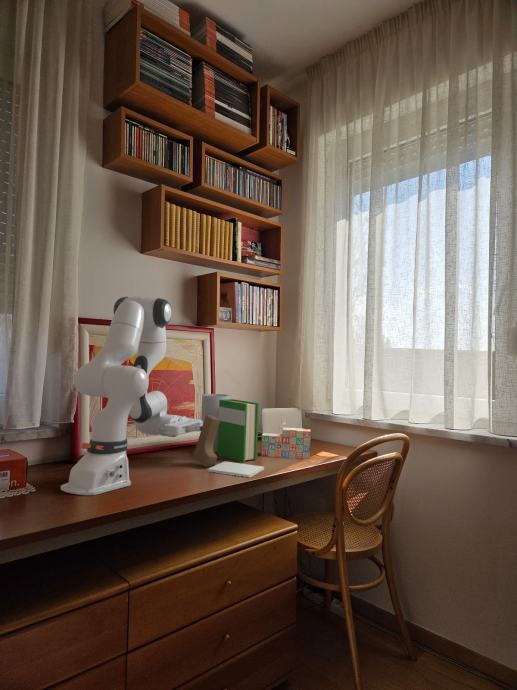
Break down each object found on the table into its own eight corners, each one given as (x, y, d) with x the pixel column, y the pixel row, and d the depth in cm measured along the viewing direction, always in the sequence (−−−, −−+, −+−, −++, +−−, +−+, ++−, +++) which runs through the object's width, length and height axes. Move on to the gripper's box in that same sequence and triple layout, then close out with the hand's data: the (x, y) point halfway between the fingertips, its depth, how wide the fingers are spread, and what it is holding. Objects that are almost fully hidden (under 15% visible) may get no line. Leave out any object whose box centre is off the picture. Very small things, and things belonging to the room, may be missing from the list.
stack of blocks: (260, 456, 201) (261, 428, 201) (262, 453, 207) (263, 426, 207) (309, 459, 198) (310, 430, 198) (309, 456, 204) (310, 428, 205)
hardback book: (256, 460, 192) (258, 403, 193) (243, 462, 187) (245, 403, 188) (230, 452, 206) (232, 399, 206) (217, 454, 201) (219, 399, 201)
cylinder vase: (226, 452, 205) (228, 396, 205) (198, 451, 205) (200, 395, 205) (228, 447, 217) (230, 394, 218) (201, 446, 217) (203, 393, 218)
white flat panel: (249, 477, 165) (249, 474, 165) (207, 471, 171) (207, 468, 171) (264, 469, 177) (264, 466, 177) (224, 463, 184) (224, 461, 184)
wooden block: (214, 467, 178) (228, 423, 177) (205, 467, 175) (219, 423, 174) (201, 457, 185) (214, 415, 183) (192, 457, 182) (205, 414, 180)
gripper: (156, 421, 177) (187, 424, 172) (185, 415, 196) (213, 417, 190) (156, 437, 177) (187, 441, 171) (184, 430, 196) (213, 433, 190)
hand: (201, 428), depth 181 cm, fingers closed
